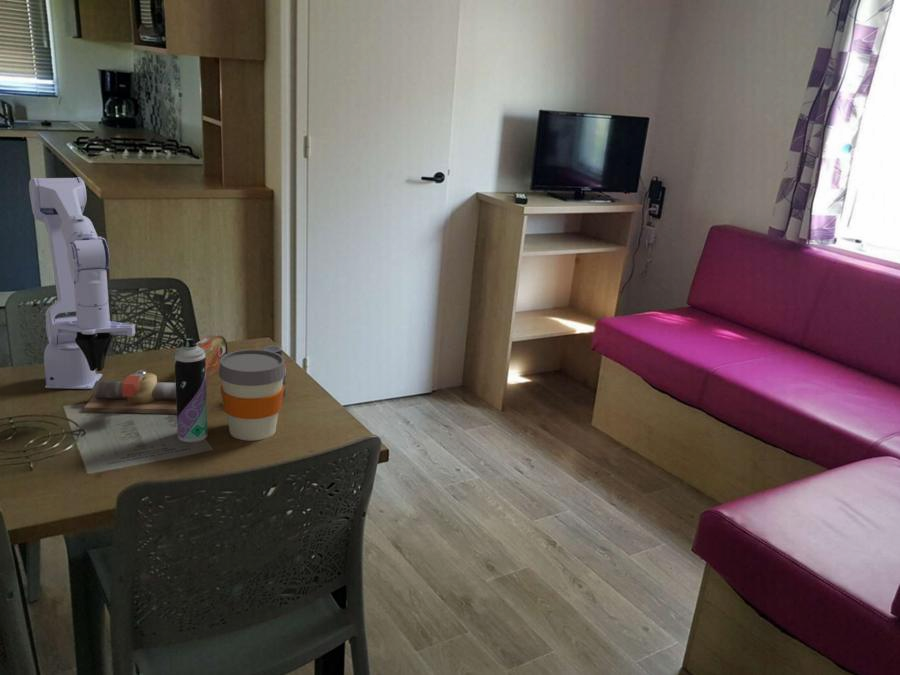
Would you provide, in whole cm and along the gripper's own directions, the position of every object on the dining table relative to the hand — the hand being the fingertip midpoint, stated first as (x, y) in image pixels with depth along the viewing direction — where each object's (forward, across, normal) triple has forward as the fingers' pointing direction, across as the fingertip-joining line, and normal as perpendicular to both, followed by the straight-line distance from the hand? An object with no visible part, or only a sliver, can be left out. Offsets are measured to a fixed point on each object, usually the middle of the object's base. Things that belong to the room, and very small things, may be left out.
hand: (97, 369), depth 149 cm
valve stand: (+10, +6, +8) cm, 14 cm away
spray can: (+11, +19, -8) cm, 23 cm away
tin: (+11, +16, +24) cm, 31 cm away
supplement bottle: (+11, +32, +12) cm, 36 cm away
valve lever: (+5, +6, +3) cm, 8 cm away
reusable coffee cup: (+11, +30, -4) cm, 32 cm away
